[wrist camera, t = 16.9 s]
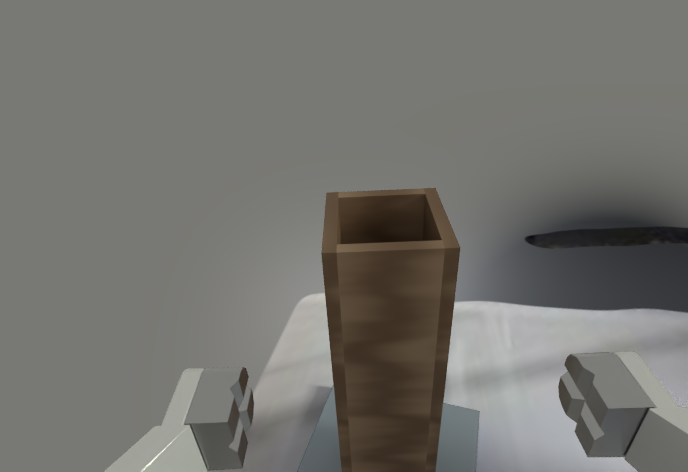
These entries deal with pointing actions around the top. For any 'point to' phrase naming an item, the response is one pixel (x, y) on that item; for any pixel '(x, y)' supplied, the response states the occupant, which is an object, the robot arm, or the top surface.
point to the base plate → (453, 450)
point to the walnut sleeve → (389, 324)
